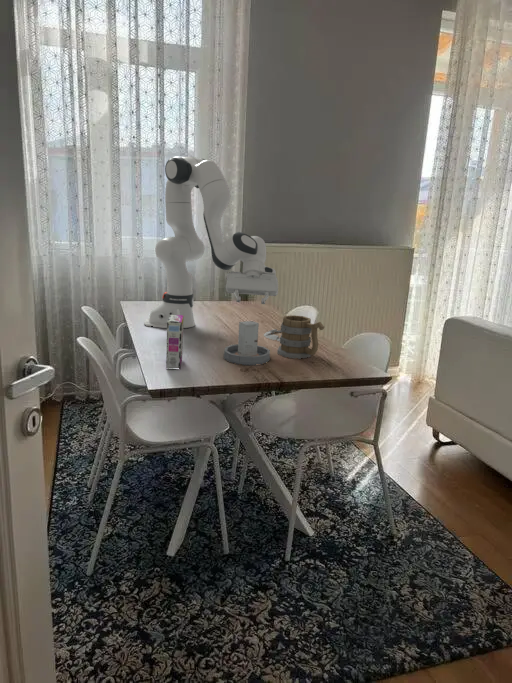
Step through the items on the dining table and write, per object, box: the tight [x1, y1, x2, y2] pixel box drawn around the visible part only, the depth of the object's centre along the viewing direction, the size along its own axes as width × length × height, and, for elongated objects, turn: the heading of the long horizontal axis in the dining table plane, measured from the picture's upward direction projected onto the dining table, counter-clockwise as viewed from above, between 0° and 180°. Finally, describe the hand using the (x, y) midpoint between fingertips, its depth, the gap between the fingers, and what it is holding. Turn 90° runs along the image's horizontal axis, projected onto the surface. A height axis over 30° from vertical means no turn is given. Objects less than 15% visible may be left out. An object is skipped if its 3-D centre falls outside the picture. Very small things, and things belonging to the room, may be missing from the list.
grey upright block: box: [237, 320, 260, 356], centre depth 187 cm, size 6×4×12 cm
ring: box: [263, 328, 282, 342], centre depth 223 cm, size 19×19×2 cm
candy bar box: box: [165, 315, 184, 370], centre depth 175 cm, size 11×5×16 cm, turn 4°
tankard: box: [276, 314, 325, 360], centre depth 193 cm, size 20×13×15 cm, turn 36°
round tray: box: [223, 343, 271, 366], centre depth 188 cm, size 17×17×3 cm
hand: (250, 302), depth 195 cm, fingers open, 8 cm apart
